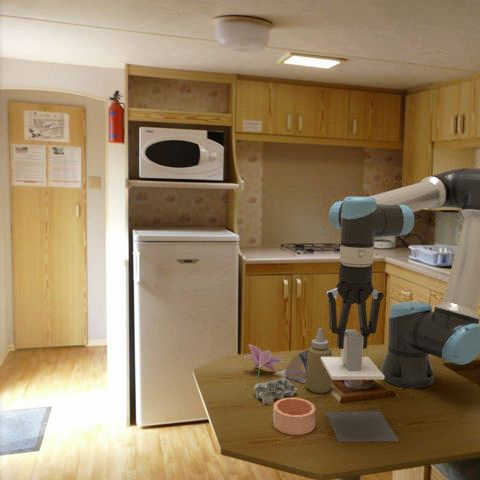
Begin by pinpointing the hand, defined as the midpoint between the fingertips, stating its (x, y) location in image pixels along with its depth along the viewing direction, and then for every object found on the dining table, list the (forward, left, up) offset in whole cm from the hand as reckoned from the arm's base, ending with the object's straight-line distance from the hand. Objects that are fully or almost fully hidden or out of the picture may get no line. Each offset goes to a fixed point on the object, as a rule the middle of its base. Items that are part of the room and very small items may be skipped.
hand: (351, 361), depth 118 cm
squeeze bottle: (+3, -21, -17) cm, 27 cm away
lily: (+18, -33, -17) cm, 41 cm away
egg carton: (+16, -18, -17) cm, 29 cm away
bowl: (+13, -1, -17) cm, 21 cm away
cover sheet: (0, 0, -2) cm, 2 cm away
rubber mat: (-3, 0, -17) cm, 17 cm away
